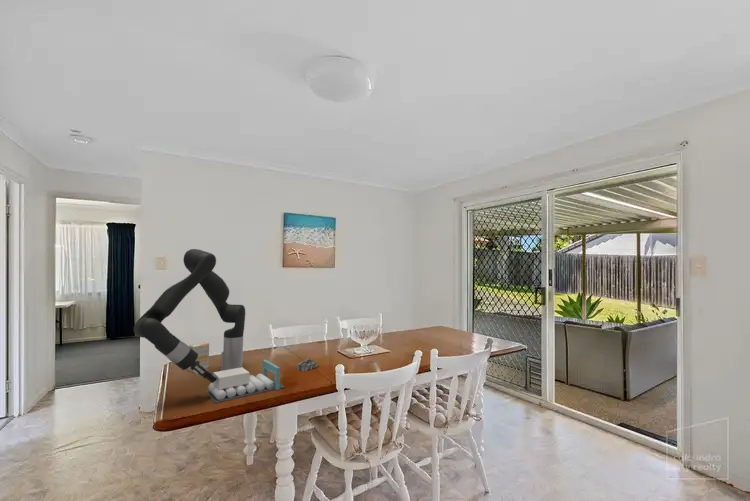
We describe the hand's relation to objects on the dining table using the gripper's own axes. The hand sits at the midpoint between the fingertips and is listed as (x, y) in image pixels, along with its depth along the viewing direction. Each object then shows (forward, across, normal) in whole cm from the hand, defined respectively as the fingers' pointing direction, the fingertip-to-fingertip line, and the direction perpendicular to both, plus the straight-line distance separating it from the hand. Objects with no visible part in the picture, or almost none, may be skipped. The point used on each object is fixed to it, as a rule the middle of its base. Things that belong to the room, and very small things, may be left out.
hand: (214, 380), depth 140 cm
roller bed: (+14, 0, -5) cm, 15 cm away
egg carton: (+40, +13, -30) cm, 51 cm away
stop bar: (+22, 0, -12) cm, 25 cm away
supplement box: (+7, +42, +3) cm, 42 cm away
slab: (+6, 0, -3) cm, 7 cm away
